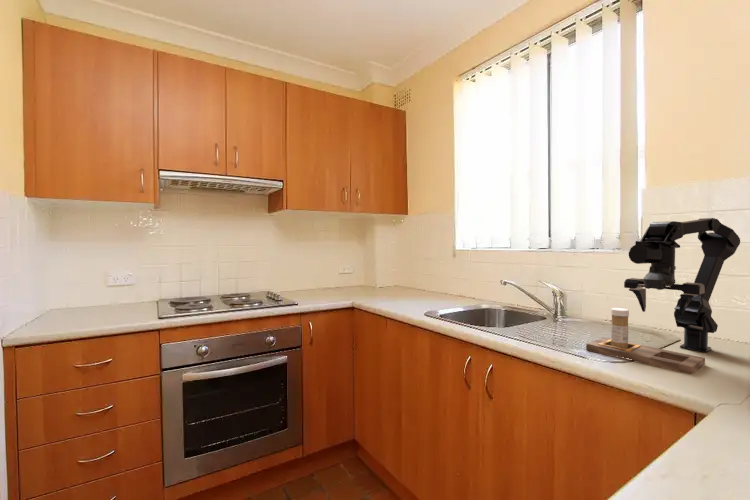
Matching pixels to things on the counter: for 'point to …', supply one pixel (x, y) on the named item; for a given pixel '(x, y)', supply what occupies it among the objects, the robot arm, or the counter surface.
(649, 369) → the counter surface
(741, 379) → the counter surface
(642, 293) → the robot arm
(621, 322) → the sprinkles bottle
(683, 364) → the rail
